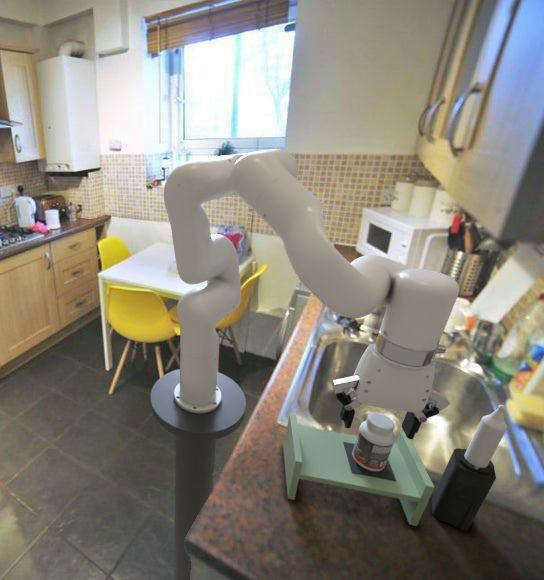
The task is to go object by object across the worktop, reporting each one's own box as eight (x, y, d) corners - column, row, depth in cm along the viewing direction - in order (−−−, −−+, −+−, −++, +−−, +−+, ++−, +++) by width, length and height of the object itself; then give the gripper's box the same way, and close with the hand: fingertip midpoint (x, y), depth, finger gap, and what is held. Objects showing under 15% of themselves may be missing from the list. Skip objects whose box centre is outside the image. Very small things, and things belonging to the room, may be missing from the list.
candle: (432, 517, 65) (483, 409, 54) (431, 495, 69) (478, 389, 58) (469, 533, 62) (530, 423, 52) (466, 509, 66) (522, 401, 55)
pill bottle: (346, 448, 70) (357, 408, 66) (374, 448, 70) (387, 408, 66) (360, 472, 65) (373, 432, 61) (391, 472, 65) (406, 432, 61)
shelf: (283, 448, 79) (289, 413, 75) (393, 468, 74) (407, 431, 70) (287, 498, 69) (295, 461, 64) (417, 526, 63) (434, 487, 59)
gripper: (457, 341, 58) (423, 421, 66) (338, 328, 62) (319, 404, 70) (482, 370, 52) (441, 455, 59) (348, 353, 56) (326, 434, 63)
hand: (375, 427), depth 65 cm, fingers open, 9 cm apart
